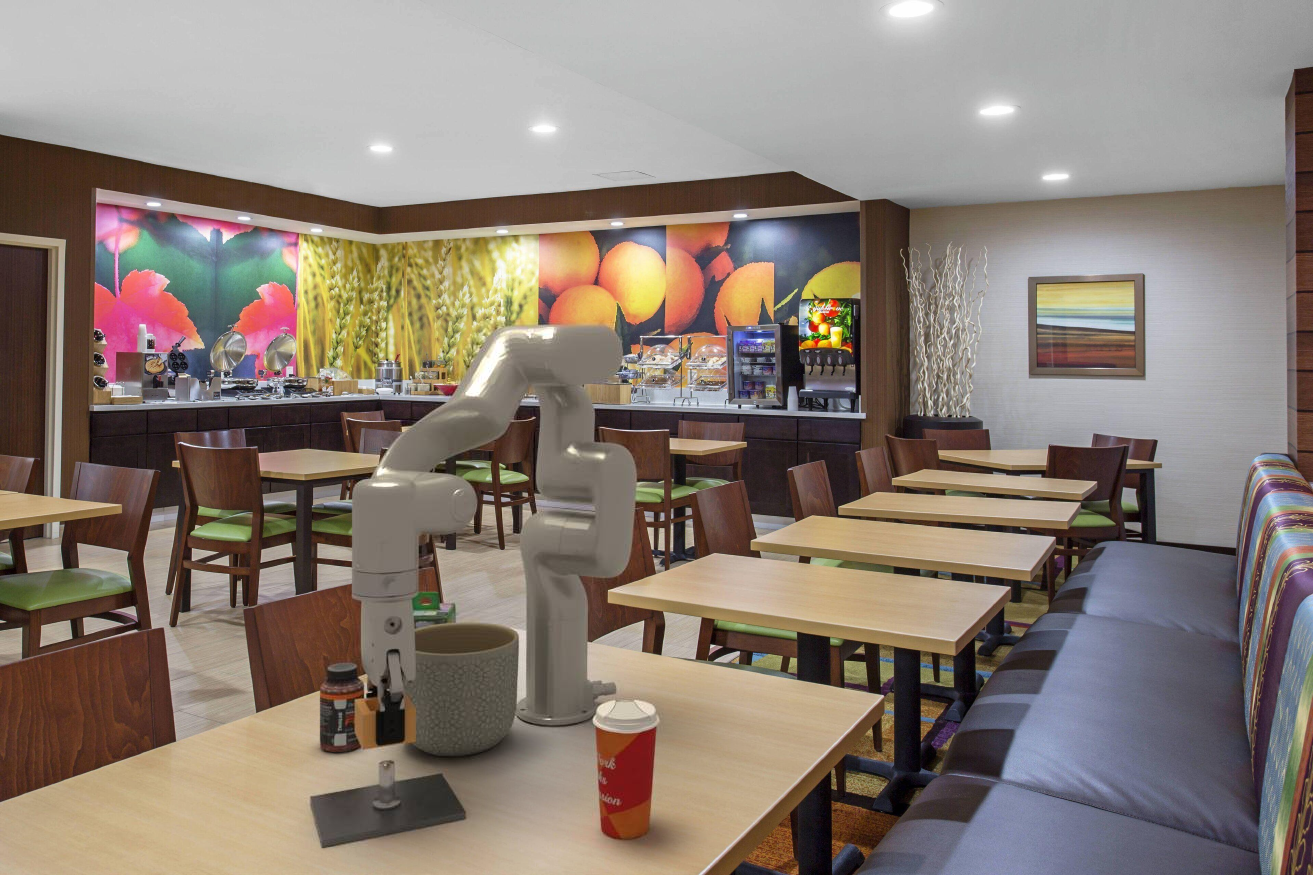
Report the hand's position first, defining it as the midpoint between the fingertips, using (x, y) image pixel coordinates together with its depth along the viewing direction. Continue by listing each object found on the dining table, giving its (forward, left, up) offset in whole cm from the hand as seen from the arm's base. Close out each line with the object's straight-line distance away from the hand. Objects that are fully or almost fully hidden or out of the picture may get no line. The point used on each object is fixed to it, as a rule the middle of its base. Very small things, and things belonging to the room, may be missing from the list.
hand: (385, 731), depth 109 cm
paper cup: (-24, +16, -10) cm, 31 cm away
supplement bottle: (+2, -23, -10) cm, 25 cm away
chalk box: (-16, -51, -10) cm, 55 cm away
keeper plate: (0, 0, -10) cm, 10 cm away
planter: (-13, -17, -10) cm, 24 cm away
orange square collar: (0, 0, -1) cm, 1 cm away
